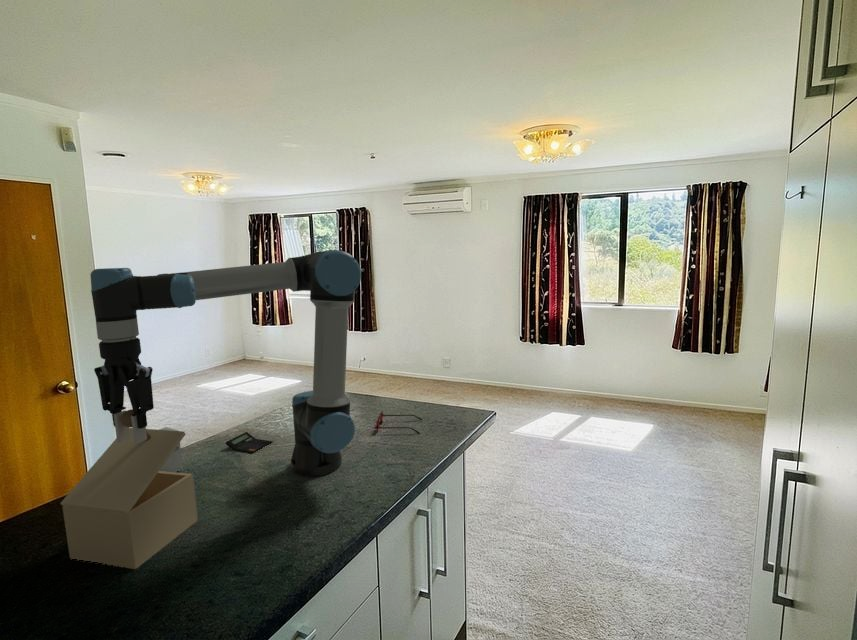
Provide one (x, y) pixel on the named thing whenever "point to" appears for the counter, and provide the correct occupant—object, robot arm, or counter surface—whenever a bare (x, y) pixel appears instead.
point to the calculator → (247, 443)
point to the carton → (134, 524)
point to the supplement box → (173, 458)
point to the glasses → (391, 427)
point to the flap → (123, 471)
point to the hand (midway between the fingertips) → (132, 440)
